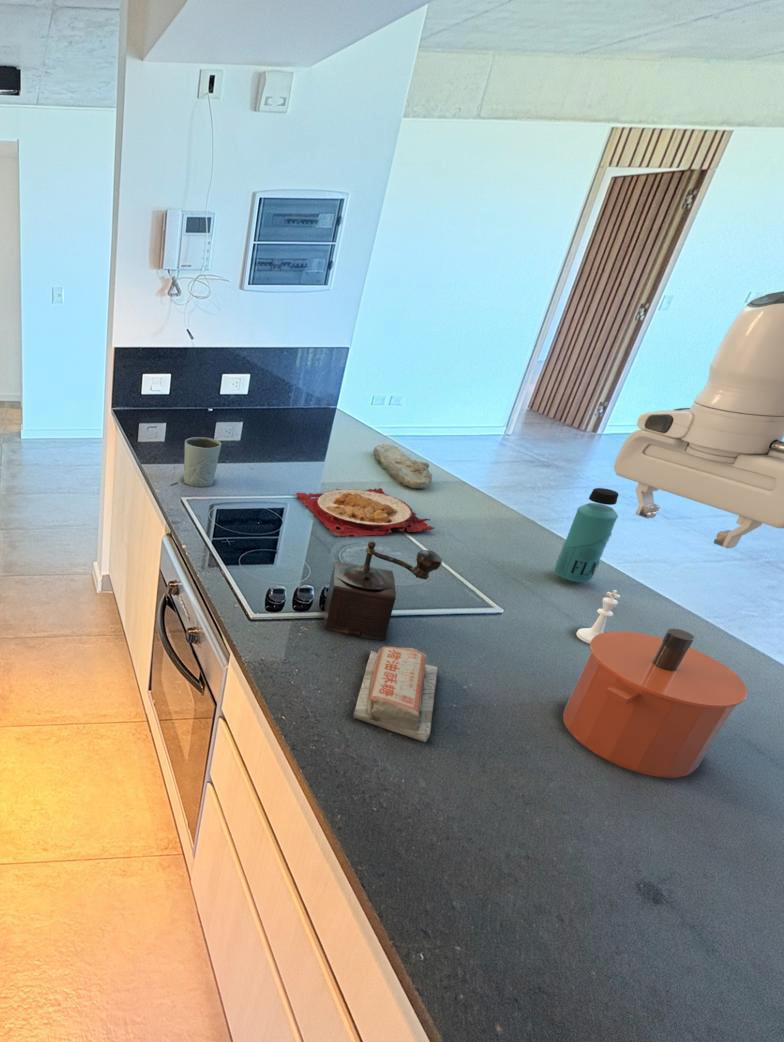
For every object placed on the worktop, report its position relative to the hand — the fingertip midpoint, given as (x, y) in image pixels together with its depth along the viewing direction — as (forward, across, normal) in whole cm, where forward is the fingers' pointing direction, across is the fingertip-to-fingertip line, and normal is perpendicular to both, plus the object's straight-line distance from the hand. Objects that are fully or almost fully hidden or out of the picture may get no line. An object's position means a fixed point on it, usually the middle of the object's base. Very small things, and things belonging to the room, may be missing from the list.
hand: (682, 530), depth 82 cm
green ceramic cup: (+29, +102, +19) cm, 107 cm away
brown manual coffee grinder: (+29, +26, +21) cm, 44 cm away
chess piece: (+29, +12, -14) cm, 34 cm away
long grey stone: (+29, +93, -43) cm, 107 cm away
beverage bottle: (+29, +28, -29) cm, 50 cm away
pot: (+29, -8, +6) cm, 30 cm away
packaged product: (+29, +8, +30) cm, 43 cm away
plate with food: (+29, +69, -10) cm, 75 cm away
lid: (+16, -8, +6) cm, 19 cm away
